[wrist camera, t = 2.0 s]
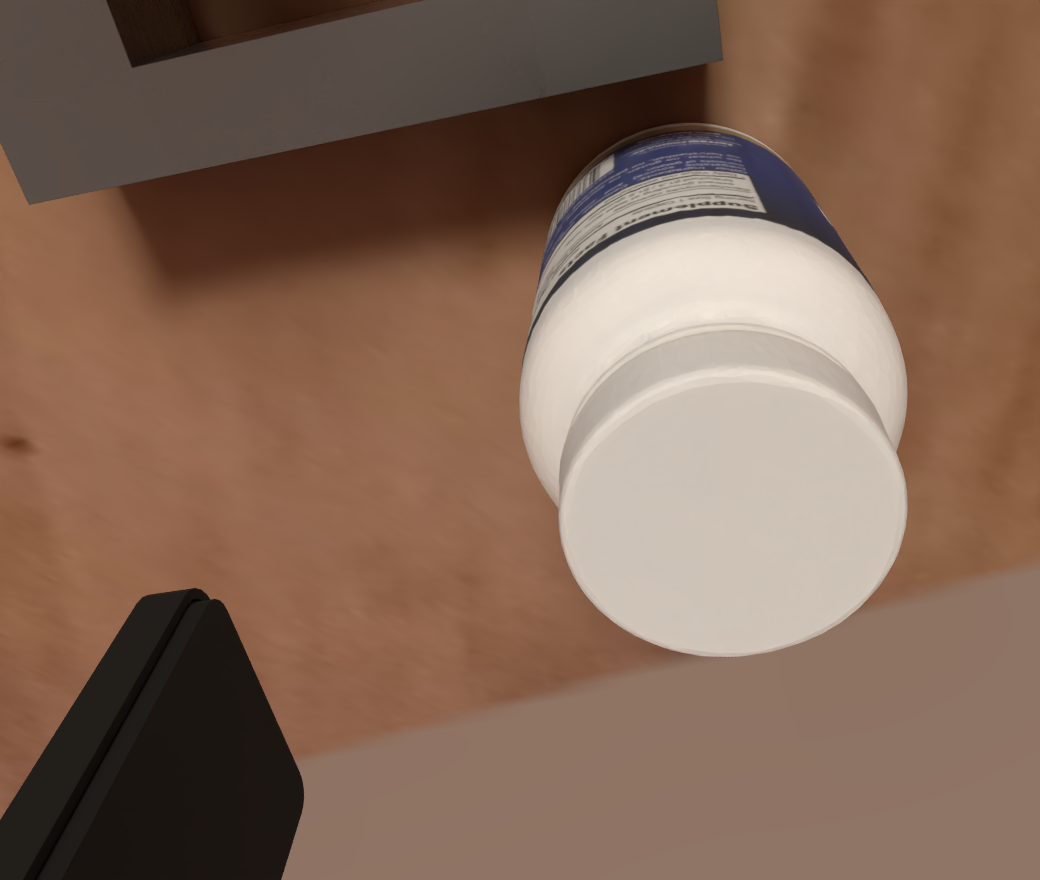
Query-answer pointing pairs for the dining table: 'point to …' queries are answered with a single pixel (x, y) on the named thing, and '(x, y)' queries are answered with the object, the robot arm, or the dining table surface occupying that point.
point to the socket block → (298, 76)
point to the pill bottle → (713, 397)
